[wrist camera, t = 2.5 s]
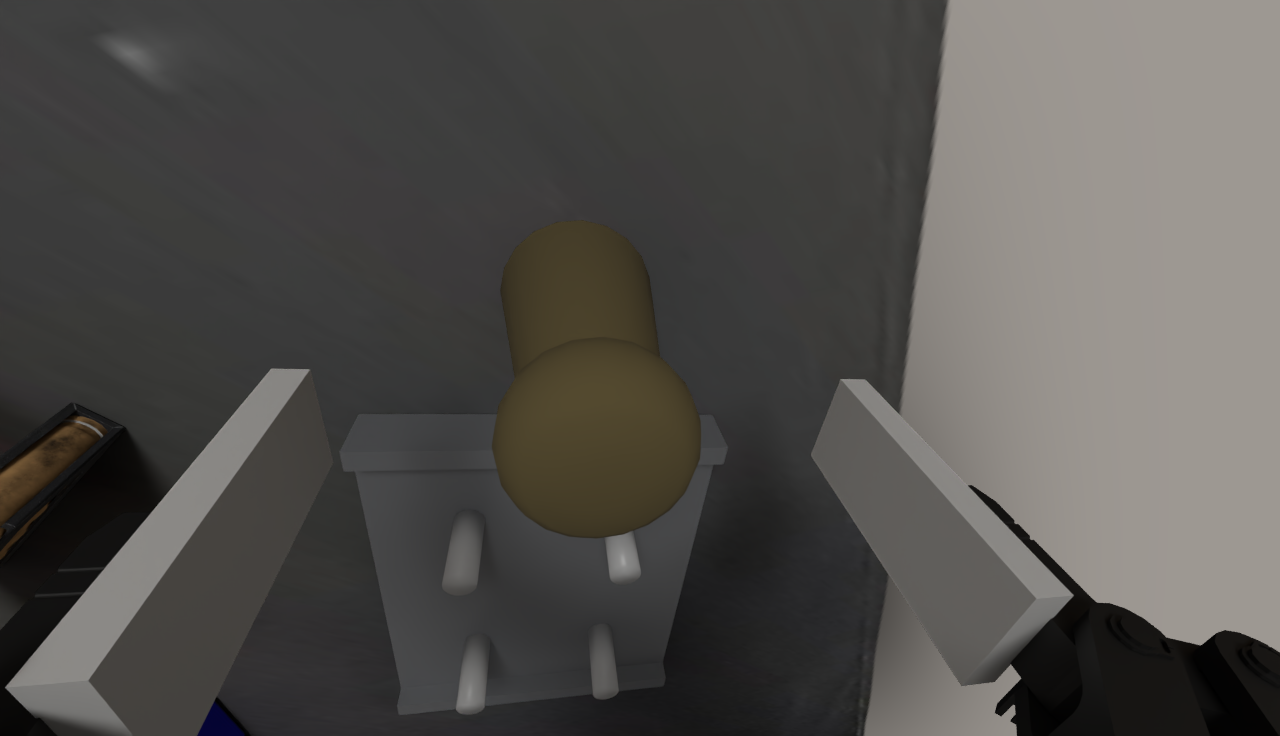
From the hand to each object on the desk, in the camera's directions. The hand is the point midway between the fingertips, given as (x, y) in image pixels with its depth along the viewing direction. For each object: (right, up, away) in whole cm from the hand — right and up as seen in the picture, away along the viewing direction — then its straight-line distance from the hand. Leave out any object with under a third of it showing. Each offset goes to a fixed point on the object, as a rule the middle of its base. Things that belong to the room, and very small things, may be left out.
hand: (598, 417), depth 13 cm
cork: (-1, +4, +8) cm, 9 cm away
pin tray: (-4, -9, +15) cm, 19 cm away
